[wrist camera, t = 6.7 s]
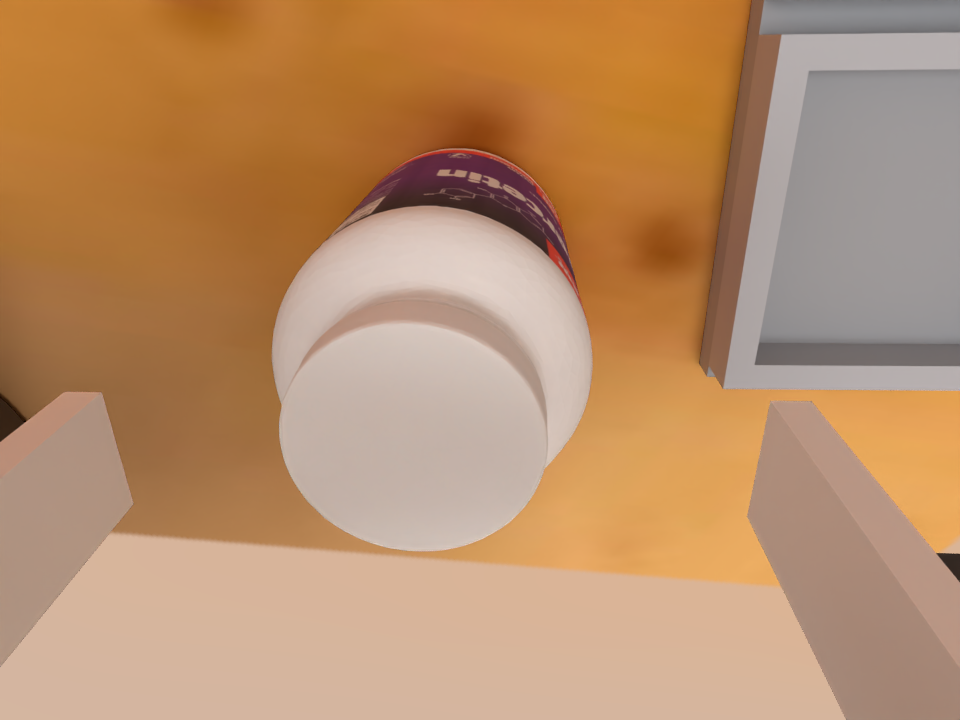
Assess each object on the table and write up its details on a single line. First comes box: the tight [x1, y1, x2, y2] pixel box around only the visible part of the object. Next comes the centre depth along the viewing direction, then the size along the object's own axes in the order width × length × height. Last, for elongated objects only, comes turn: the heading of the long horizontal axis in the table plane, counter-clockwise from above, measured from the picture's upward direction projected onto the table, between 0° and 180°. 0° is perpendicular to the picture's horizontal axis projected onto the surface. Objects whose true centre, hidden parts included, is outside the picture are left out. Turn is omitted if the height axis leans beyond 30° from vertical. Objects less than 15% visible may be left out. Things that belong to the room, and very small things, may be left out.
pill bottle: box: [272, 148, 592, 551], centre depth 20 cm, size 8×8×14 cm
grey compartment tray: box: [699, 0, 960, 391], centre depth 21 cm, size 12×26×3 cm, turn 1°
